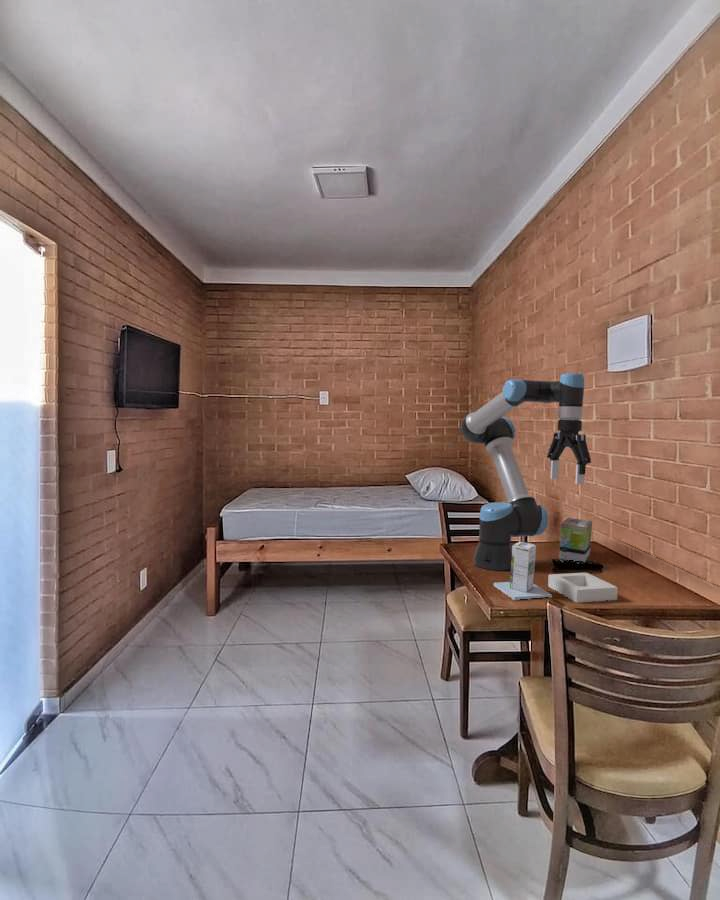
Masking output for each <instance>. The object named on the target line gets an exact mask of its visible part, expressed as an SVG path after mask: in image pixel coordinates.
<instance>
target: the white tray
mask: <svg viewBox="0 0 720 900" xmlns="http://www.w3.org/2000/svg"><path fill="white" fill-rule="evenodd" d="M547 579H548V582H547V583H548V584H547V586H548V587H549V588H550V589H552V590H554V591H555V590H556V591H555V592H557V591H558V592H557V593H558V594H561V595H562V594H563V595H562V596H564V597H565V598H567V597H568V599H569V600H571V601H573V602H574V603H577V604H579V603H590V602H591V603H593V601H594V602H606V600H608V601H617V600H618V591H619V589H618V588H619V587H617V586H616V585H614V584H612V583H610V582H608V581H605V580H604V579H601V578H599V577H596V576H594V575H593V574H590V573H588V572H574V573H573V572H572V573H571V572H570V573H569V572H568V573H553V574H548V578H547Z"/></svg>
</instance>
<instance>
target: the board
mask: <svg viewBox="0 0 720 900" xmlns="http://www.w3.org/2000/svg"><path fill="white" fill-rule="evenodd" d="M493 586H494V587H495V588H496V589H497V590H499V591H500V590H501V591H500V592H502V593H503V594H505V595H506V596H507V595H508V597H509V598H510V597H511V598H510V599H512V600H513V601H521V600H520V599H528V600H532V599H531V598H540V597H549V598H548V599H552V598H553V595H552V594H551V593H550V592H548V591H546V590H545V589H543V588H541V587H540V586H538V585H537V584H535V583H534V584H533V588H532V589H531V590H529V591H528V592H523V591H519V590H515V589H511V588H510V581H505V582H503V581H502V582H501V581H499V582H493Z"/></svg>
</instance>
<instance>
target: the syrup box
mask: <svg viewBox="0 0 720 900" xmlns="http://www.w3.org/2000/svg"><path fill="white" fill-rule="evenodd" d="M511 550H512V560H511V569H510V577H509V578H510V579H509V582H510V588H511V589H515V590H519V591H523V592H528V591H529V590H531V589H532V588H533V584H535V581H534V580H535V571H536V570H535V568H536V567H535V566H536V552H537V545H536V544H533V543H530V542H522V541H519V542H516V543H514V544H512V546H511Z"/></svg>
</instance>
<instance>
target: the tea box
mask: <svg viewBox="0 0 720 900" xmlns="http://www.w3.org/2000/svg"><path fill="white" fill-rule="evenodd" d="M592 528H593V520H589V519H588V520H586V519H578V518H570V517H567V518H566V519H565V520H564V521H563V522H561V528H560V529H561V530H560V539H559V540H560V541H559V542H560V543H559V553H558V558H559V559H560V560H565V561H569V560H575V561H583V562H584V563H586V561H587V559H588V558H589V556H590V555H591V542H592V530H593V529H592ZM559 559H558V560H559ZM575 561H574V562H575Z"/></svg>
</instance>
